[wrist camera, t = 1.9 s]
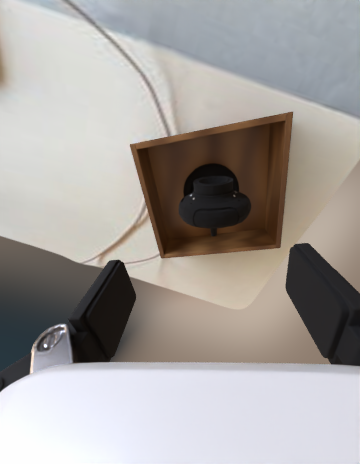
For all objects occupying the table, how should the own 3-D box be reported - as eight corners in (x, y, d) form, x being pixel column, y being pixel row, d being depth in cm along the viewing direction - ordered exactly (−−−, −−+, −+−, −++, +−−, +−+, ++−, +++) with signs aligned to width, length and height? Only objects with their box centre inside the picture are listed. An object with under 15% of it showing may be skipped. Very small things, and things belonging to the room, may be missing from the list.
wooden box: (274, 115, 21) (293, 111, 17) (268, 230, 28) (280, 248, 24) (142, 142, 24) (129, 144, 20) (166, 241, 31) (161, 258, 27)
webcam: (240, 159, 23) (265, 176, 15) (237, 213, 27) (256, 253, 18) (180, 165, 24) (169, 184, 16) (185, 216, 28) (178, 255, 19)
